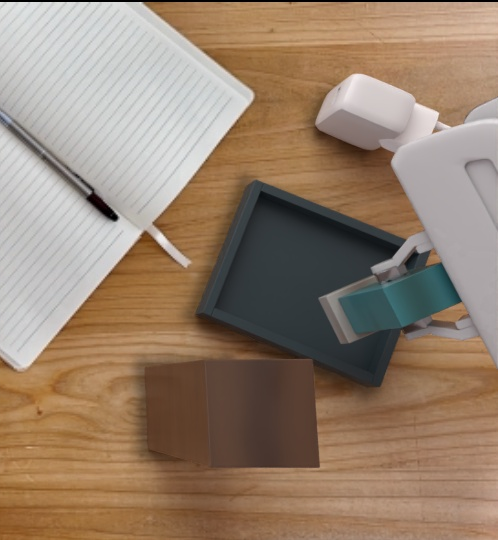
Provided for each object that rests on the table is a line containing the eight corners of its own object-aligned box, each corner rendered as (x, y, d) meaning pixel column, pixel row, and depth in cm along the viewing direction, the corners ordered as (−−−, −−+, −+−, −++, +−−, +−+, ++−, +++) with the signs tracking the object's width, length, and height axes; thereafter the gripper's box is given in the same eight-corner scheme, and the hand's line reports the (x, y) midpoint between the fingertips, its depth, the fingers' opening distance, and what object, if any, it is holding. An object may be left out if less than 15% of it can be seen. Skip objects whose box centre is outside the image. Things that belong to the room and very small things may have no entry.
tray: (417, 253, 75) (431, 249, 72) (367, 387, 73) (380, 387, 71) (246, 185, 76) (255, 178, 74) (194, 315, 75) (202, 312, 72)
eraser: (392, 266, 68) (454, 249, 60) (415, 312, 68) (481, 301, 59) (317, 298, 68) (368, 285, 60) (340, 344, 68) (395, 338, 59)
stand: (226, 366, 74) (313, 358, 56) (230, 449, 73) (320, 468, 55) (144, 366, 74) (205, 359, 57) (147, 449, 73) (210, 467, 56)
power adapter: (446, 136, 76) (487, 115, 70) (426, 185, 75) (466, 168, 70) (327, 86, 77) (357, 61, 71) (306, 134, 77) (335, 113, 71)
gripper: (522, 81, 53) (311, 181, 62) (693, 390, 50) (445, 444, 60) (539, 79, 57) (340, 172, 67) (697, 362, 54) (465, 417, 64)
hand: (390, 302), depth 63 cm, fingers closed on eraser, 3 cm apart
